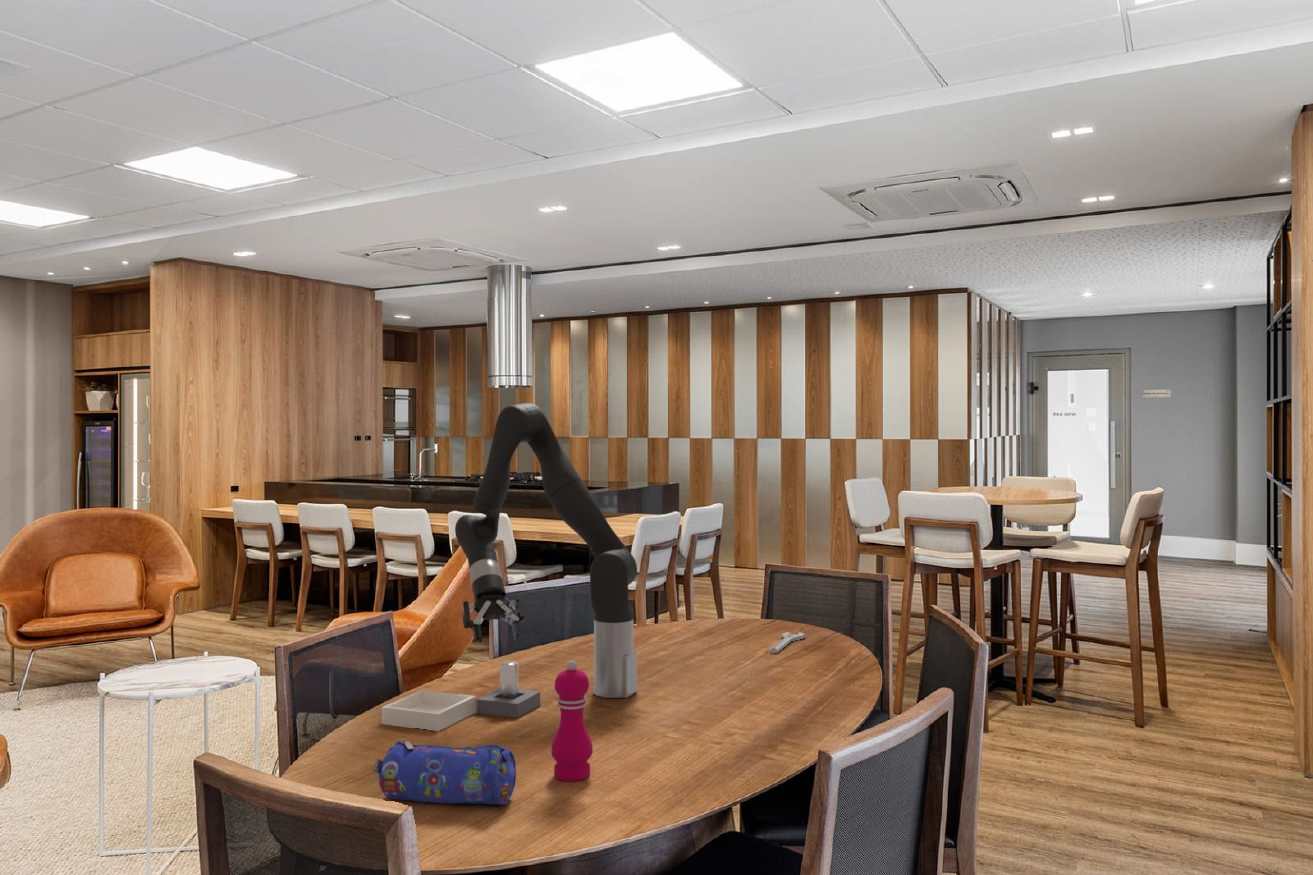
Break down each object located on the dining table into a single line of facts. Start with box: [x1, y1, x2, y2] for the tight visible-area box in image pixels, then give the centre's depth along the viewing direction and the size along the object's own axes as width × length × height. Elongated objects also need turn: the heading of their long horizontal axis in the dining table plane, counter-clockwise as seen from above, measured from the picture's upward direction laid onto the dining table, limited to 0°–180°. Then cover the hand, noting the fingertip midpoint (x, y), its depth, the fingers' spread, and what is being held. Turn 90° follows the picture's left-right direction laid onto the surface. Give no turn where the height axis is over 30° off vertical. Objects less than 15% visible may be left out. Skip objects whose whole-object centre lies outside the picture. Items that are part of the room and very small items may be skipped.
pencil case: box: [372, 738, 517, 806], centre depth 145 cm, size 22×9×10 cm, turn 81°
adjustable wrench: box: [768, 631, 805, 654], centre depth 258 cm, size 25×6×2 cm, turn 151°
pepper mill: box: [550, 660, 594, 782], centre depth 156 cm, size 7×7×20 cm
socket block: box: [476, 687, 541, 719], centre depth 195 cm, size 10×10×3 cm
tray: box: [381, 689, 477, 733], centre depth 189 cm, size 14×14×4 cm
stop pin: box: [499, 660, 519, 700], centre depth 195 cm, size 4×4×10 cm
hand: (498, 639), depth 204 cm, fingers open, 8 cm apart
